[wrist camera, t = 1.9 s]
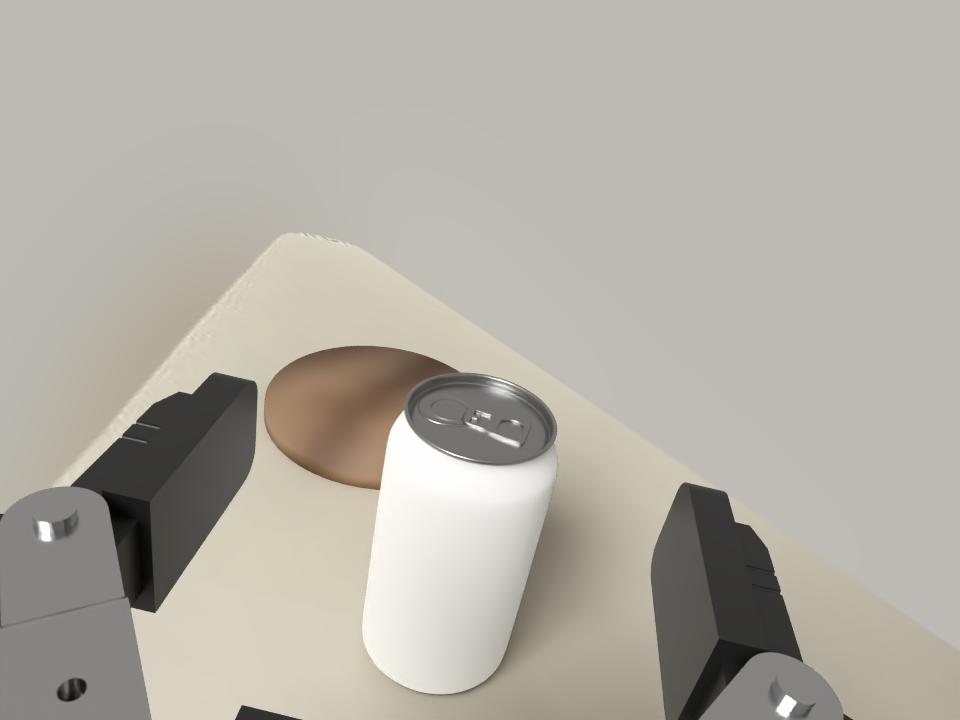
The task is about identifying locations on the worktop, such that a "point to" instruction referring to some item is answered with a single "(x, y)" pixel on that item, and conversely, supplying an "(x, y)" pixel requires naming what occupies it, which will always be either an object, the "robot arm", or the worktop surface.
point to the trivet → (343, 408)
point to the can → (456, 529)
